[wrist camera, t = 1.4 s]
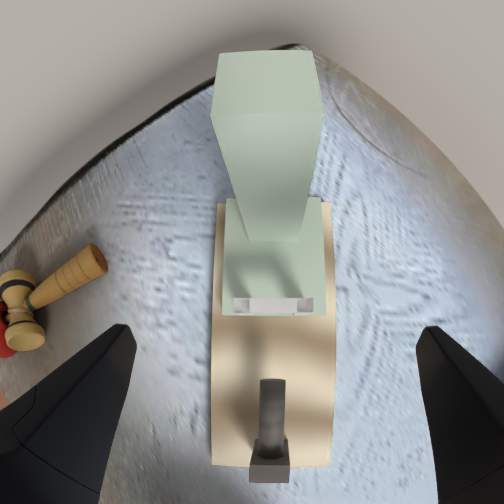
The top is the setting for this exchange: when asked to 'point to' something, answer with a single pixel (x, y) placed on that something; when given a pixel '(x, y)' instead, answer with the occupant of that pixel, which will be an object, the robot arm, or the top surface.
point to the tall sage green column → (270, 183)
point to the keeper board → (273, 361)
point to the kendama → (40, 298)
